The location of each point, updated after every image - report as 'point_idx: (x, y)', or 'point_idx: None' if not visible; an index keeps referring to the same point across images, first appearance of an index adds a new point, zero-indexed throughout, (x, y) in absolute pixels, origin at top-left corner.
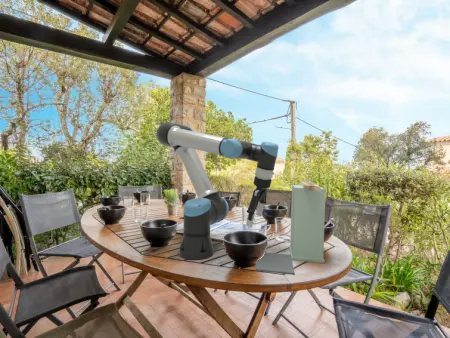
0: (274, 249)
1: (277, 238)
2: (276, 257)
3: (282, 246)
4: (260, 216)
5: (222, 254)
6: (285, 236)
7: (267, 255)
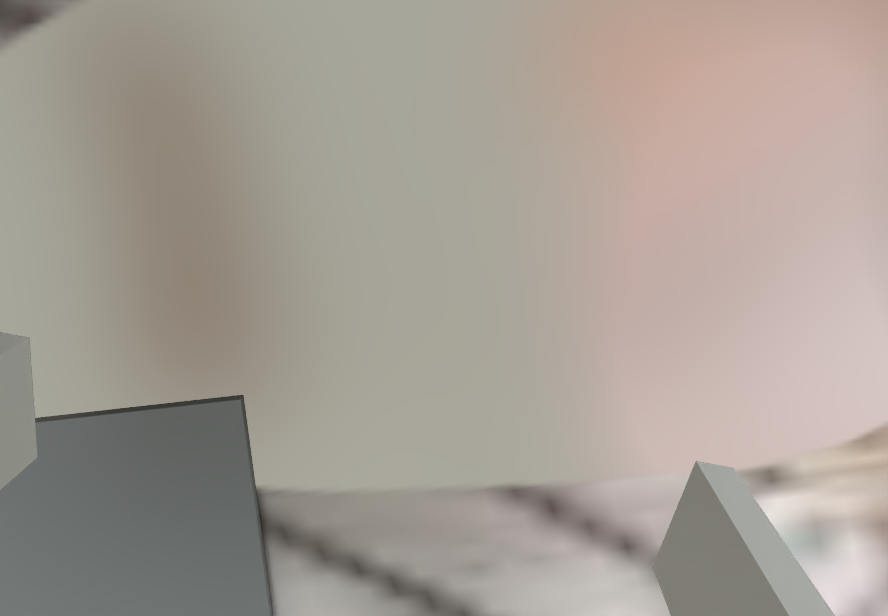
0: (426, 528)
1: (772, 510)
2: (144, 595)
3: (539, 587)
4: (656, 559)
5: (52, 3)
6: (852, 575)
7: (165, 507)
